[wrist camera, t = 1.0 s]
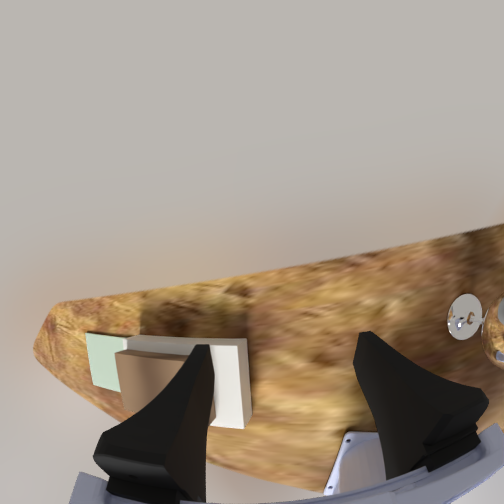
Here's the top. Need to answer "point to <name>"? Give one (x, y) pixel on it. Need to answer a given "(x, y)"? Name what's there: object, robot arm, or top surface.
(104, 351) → the mat
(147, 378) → the tan cardboard slab
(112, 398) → the top surface
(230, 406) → the tray
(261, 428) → the top surface
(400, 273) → the top surface
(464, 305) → the wineglass
